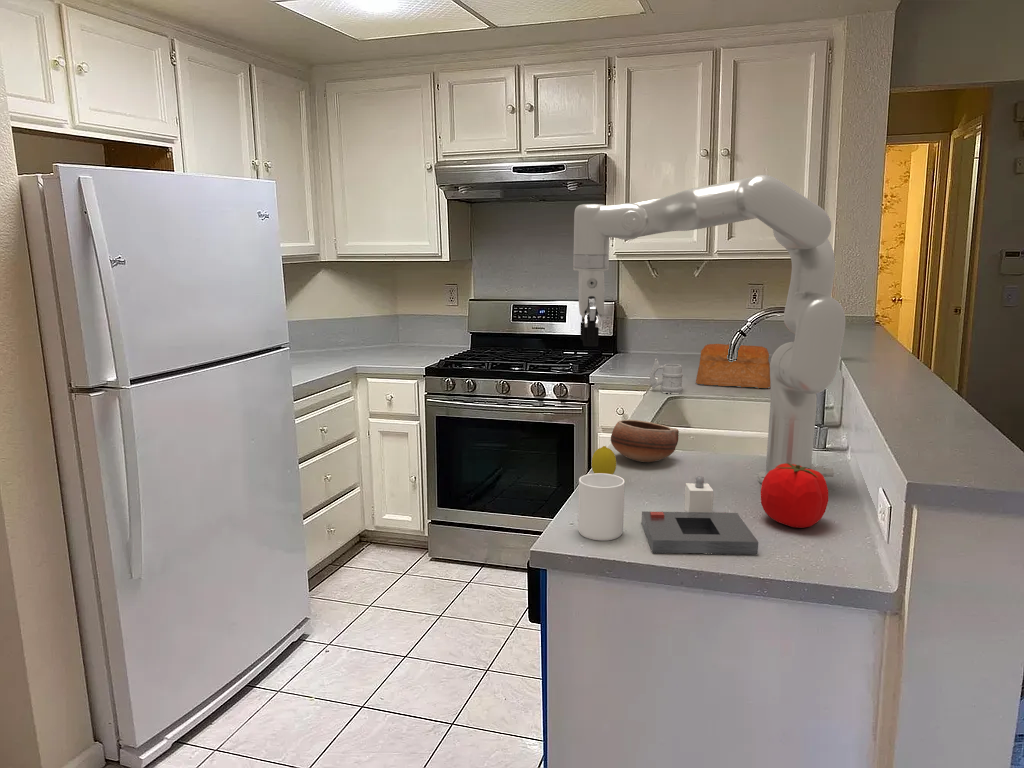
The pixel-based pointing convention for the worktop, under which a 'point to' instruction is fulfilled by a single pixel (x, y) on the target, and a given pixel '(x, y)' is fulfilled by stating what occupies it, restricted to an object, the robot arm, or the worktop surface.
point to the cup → (601, 506)
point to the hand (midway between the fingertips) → (589, 343)
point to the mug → (668, 377)
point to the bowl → (644, 440)
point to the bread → (734, 367)
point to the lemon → (604, 461)
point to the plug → (698, 496)
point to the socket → (698, 533)
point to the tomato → (794, 495)
